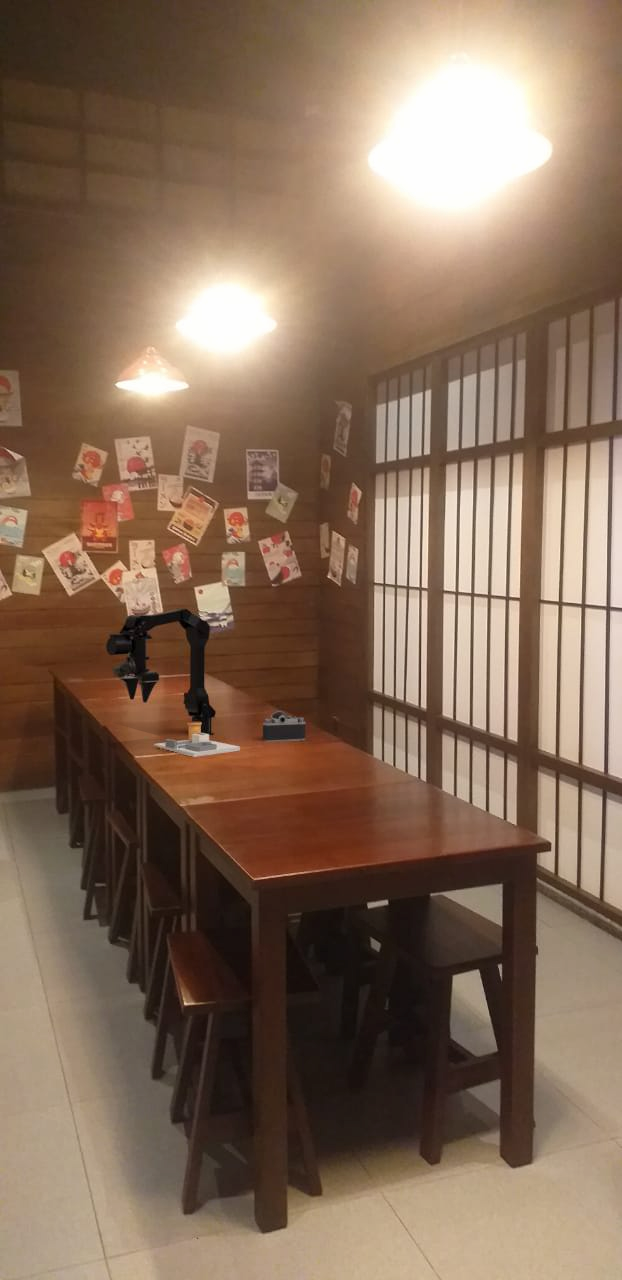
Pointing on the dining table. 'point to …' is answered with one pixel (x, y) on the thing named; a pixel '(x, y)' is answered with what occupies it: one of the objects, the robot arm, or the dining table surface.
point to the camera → (284, 728)
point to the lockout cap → (194, 728)
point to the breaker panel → (197, 747)
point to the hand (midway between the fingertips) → (138, 700)
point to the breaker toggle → (200, 737)
